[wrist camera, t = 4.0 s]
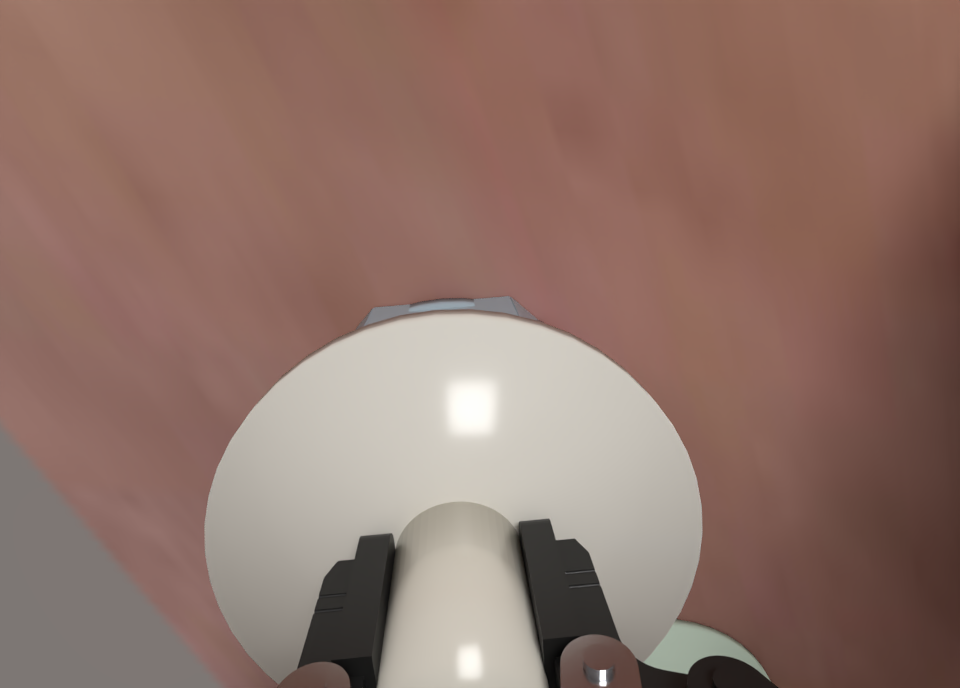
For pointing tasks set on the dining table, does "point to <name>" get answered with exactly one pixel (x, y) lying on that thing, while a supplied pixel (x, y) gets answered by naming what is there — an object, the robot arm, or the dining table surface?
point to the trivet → (696, 648)
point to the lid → (451, 494)
